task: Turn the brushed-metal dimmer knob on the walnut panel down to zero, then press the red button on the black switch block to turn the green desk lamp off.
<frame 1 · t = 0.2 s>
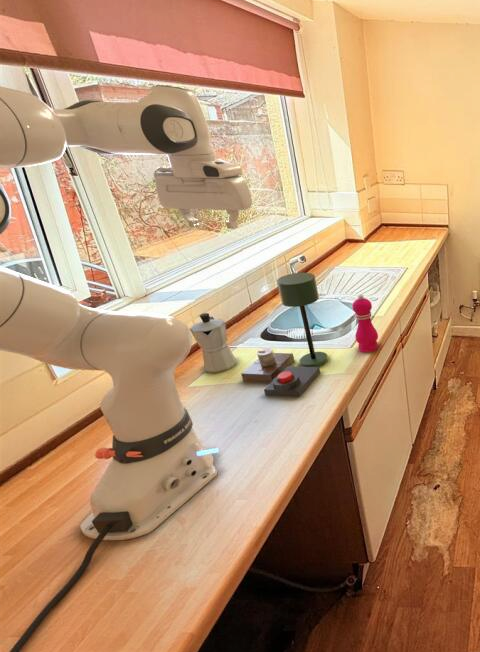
hand: (213, 227, 96), 47 cm above the worktop, tool pointing down, fingers open, 8 cm apart
desk lamp: (314, 362, 129), on the worktop
switch block: (294, 384, 118), on the worktop
coffee maker: (221, 364, 127), on the worktop
dimmer knob: (266, 357, 122), point 5 cm above the worktop, hinge at 90.0°
lamp button: (285, 377, 113), point 4 cm above the worktop, slide at 0.1 cm
pepper mill: (368, 348, 138), on the worktop
dimmer panel: (270, 371, 124), on the worktop
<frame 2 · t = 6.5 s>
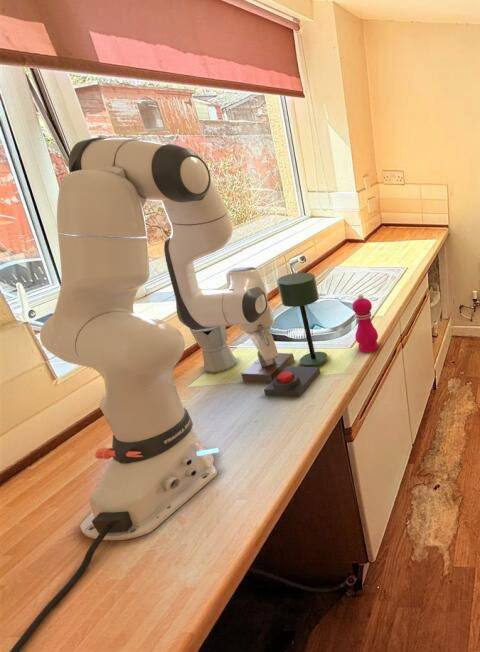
hand: (267, 359, 122), 4 cm above the worktop, tool pointing down, fingers closed on dimmer knob, 4 cm apart
dimmer knob: (266, 357, 122), point 5 cm above the worktop, hinge at 90.1°, touching gripper
everything else where it was.
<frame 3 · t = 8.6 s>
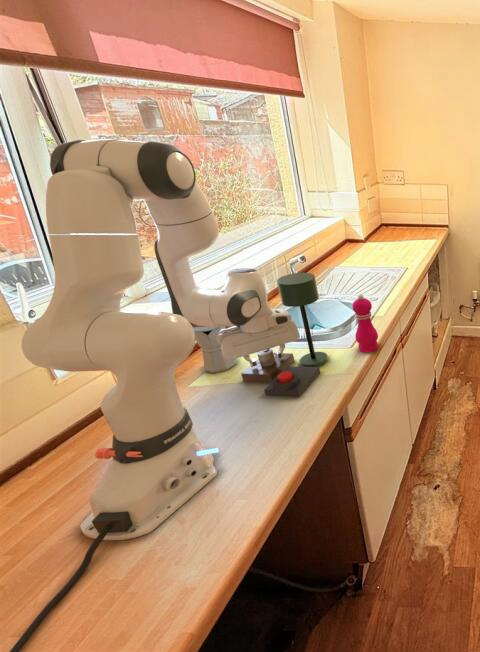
hand: (267, 361, 122), 4 cm above the worktop, tool pointing down, fingers open, 6 cm apart
dimmer knob: (266, 357, 122), point 5 cm above the worktop, hinge at 0.5°
everything else where it was.
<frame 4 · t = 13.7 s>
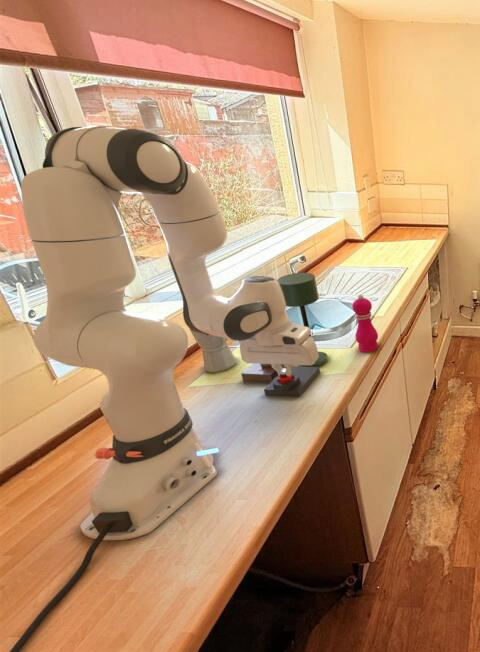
hand: (285, 375, 114), 5 cm above the worktop, tool pointing down, fingers closed, pressing on lamp button
lamp button: (285, 378, 114), point 4 cm above the worktop, slide at -0.3 cm, touching gripper
everything else where it was.
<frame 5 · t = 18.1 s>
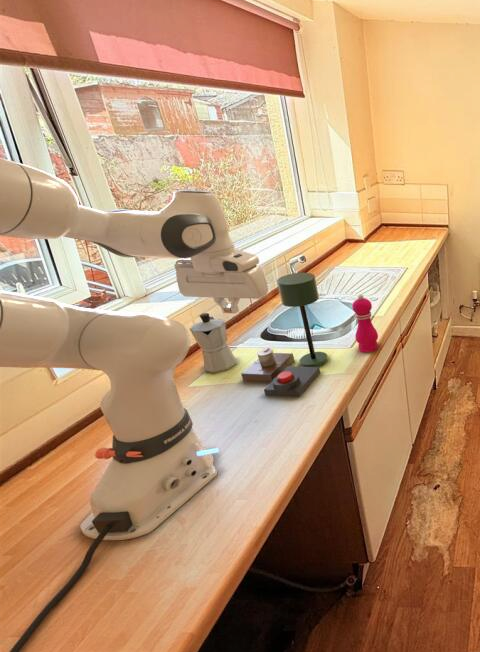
hand: (231, 312, 100), 27 cm above the worktop, tool pointing down, fingers closed
lamp button: (285, 377, 113), point 4 cm above the worktop, slide at 0.1 cm
everything else where it was.
at the end: dimmer knob at +0° (first picture: +90°); lamp button pushed in 1.0 cm at the most during the clip, back to where it started at the end; lamp button slide at 0.1 cm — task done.
